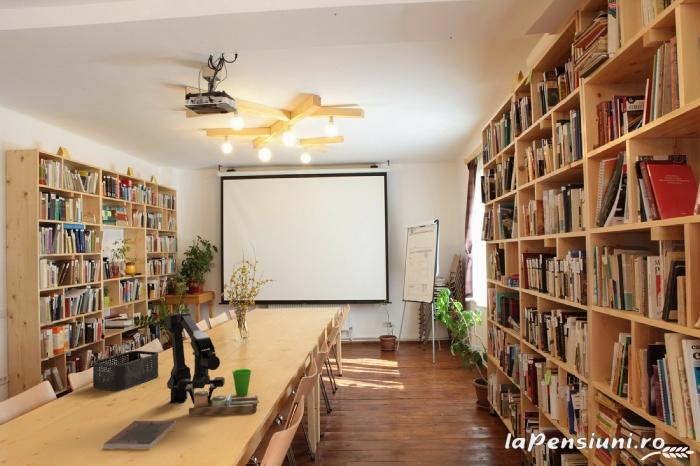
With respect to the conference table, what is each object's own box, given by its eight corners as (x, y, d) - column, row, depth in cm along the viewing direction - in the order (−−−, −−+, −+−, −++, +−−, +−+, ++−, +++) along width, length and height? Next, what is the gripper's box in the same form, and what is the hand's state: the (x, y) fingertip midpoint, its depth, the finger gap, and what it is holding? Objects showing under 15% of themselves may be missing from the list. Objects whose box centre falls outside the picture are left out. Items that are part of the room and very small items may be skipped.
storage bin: (119, 392, 222) (119, 364, 222) (89, 388, 228) (89, 361, 229) (161, 376, 249) (161, 352, 249) (133, 374, 255) (133, 350, 256)
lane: (188, 416, 187) (188, 407, 187) (194, 407, 198) (194, 398, 198) (255, 412, 190) (255, 403, 191) (257, 403, 202) (257, 395, 202)
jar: (192, 408, 190) (192, 395, 190) (195, 403, 195) (195, 391, 196) (207, 407, 191) (207, 394, 191) (209, 402, 196) (209, 390, 196)
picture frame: (150, 450, 156) (175, 426, 177) (150, 443, 156) (175, 420, 177) (102, 450, 156) (134, 426, 178) (102, 443, 156) (134, 420, 178)
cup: (232, 398, 209) (232, 374, 210) (231, 392, 218) (231, 369, 218) (252, 396, 212) (252, 372, 212) (251, 390, 220) (251, 368, 221)
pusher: (226, 412, 190) (226, 400, 191) (228, 405, 198) (228, 394, 199) (258, 410, 192) (258, 398, 192) (259, 403, 200) (259, 392, 201)
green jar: (210, 412, 191) (210, 399, 191) (213, 408, 196) (213, 395, 197) (225, 412, 191) (225, 399, 192) (226, 407, 197) (226, 394, 197)
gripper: (174, 372, 184) (173, 411, 184) (221, 370, 187) (221, 408, 186) (180, 365, 195) (180, 402, 195) (224, 363, 198) (224, 399, 197)
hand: (201, 403), depth 193 cm, fingers closed on jar, 6 cm apart
